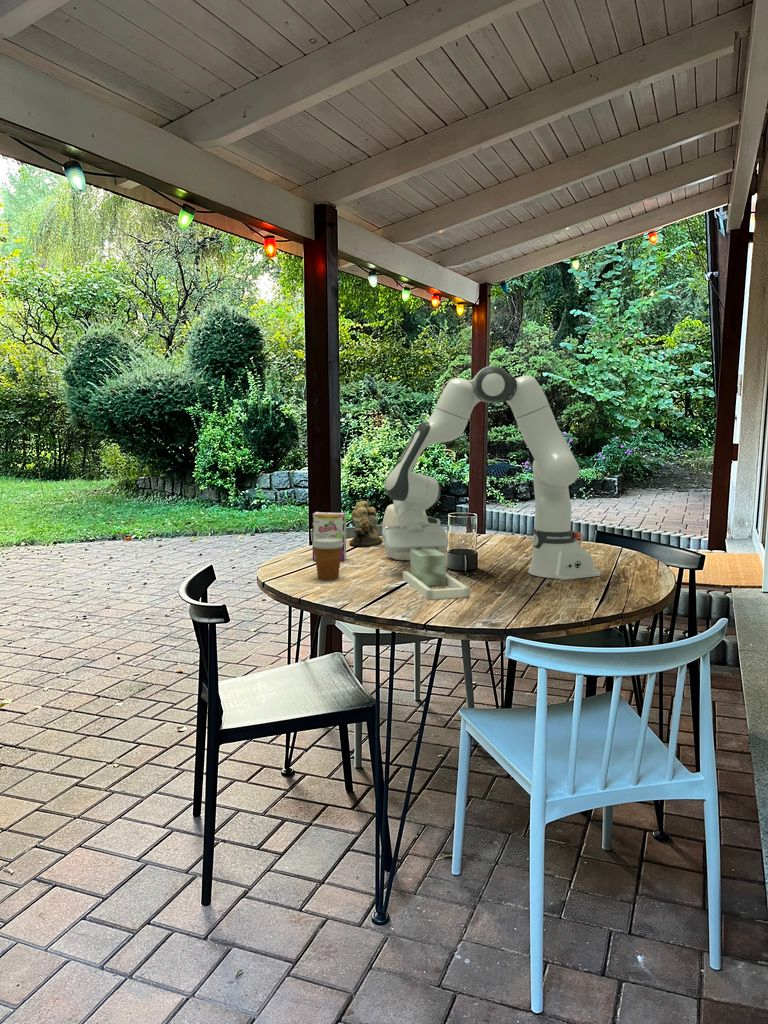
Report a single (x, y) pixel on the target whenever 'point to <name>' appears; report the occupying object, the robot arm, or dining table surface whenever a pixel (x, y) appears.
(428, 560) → the sage block
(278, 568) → the dining table surface
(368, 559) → the dining table surface
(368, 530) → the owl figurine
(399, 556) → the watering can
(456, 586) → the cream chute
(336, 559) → the disposable coffee cup
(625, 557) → the dining table surface
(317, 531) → the candy bar box
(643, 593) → the dining table surface
